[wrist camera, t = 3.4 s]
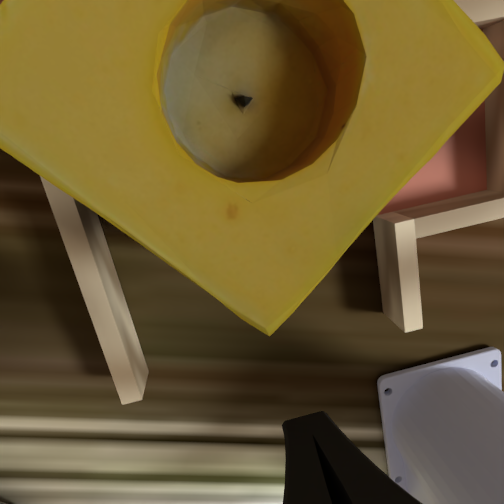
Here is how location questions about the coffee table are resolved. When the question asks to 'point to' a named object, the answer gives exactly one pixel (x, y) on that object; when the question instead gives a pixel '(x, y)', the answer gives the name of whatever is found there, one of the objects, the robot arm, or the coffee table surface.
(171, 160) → the candle
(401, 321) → the trap channel
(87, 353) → the coffee table surface
